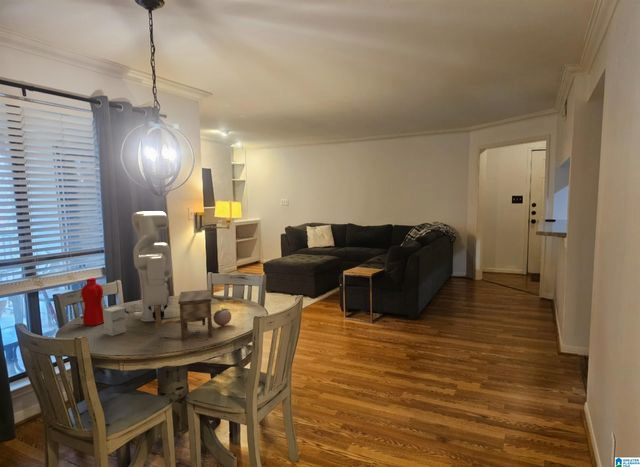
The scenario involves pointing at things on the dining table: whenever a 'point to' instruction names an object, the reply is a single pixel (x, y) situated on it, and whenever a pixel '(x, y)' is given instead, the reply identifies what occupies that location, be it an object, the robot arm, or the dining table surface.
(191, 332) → the token
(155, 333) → the dining table surface
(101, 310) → the water bottle
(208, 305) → the cabinet
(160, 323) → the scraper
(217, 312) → the decorative fruit
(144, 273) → the robot arm
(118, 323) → the supplement box
